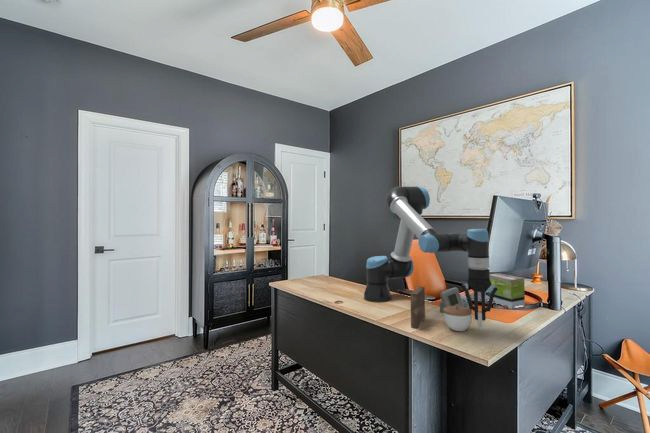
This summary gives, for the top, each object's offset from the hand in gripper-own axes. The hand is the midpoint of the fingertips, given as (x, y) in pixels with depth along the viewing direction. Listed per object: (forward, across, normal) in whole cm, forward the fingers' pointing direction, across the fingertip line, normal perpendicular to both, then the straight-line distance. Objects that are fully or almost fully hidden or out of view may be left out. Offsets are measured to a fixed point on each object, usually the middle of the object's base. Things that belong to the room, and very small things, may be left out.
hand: (480, 328), depth 122 cm
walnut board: (+1, -24, +1) cm, 24 cm away
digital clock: (+2, -13, +23) cm, 26 cm away
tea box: (+2, +9, +48) cm, 49 cm away
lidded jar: (+2, -8, 0) cm, 8 cm away
